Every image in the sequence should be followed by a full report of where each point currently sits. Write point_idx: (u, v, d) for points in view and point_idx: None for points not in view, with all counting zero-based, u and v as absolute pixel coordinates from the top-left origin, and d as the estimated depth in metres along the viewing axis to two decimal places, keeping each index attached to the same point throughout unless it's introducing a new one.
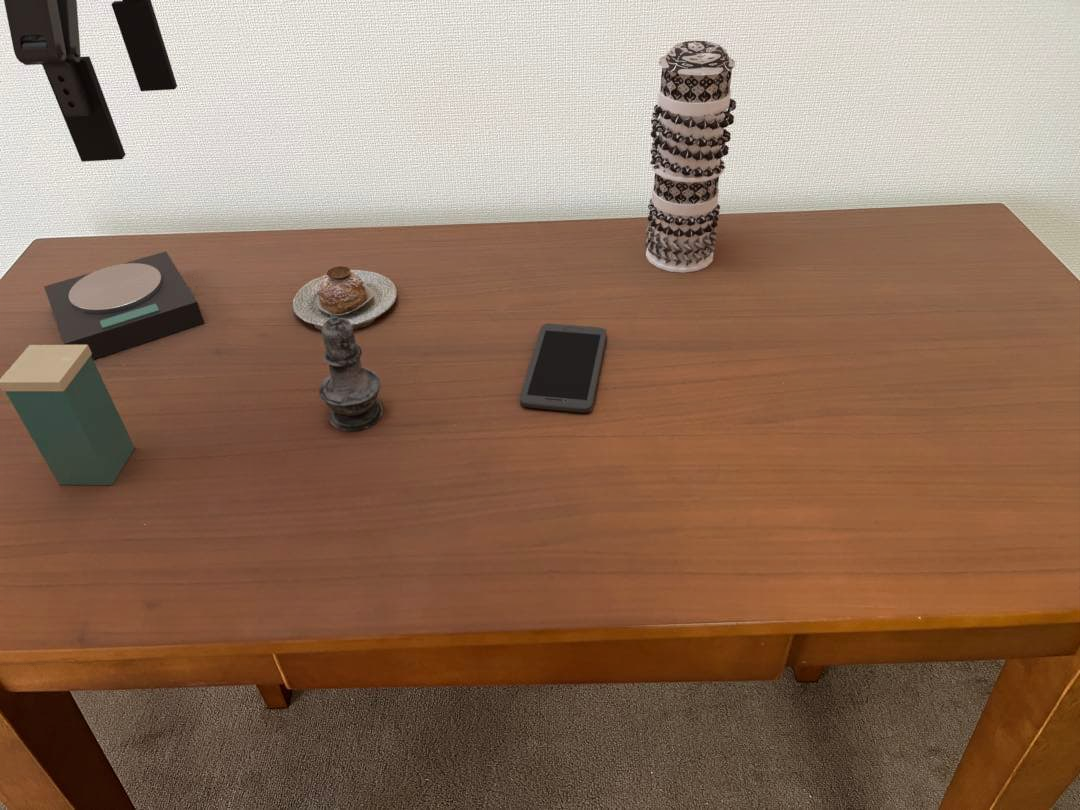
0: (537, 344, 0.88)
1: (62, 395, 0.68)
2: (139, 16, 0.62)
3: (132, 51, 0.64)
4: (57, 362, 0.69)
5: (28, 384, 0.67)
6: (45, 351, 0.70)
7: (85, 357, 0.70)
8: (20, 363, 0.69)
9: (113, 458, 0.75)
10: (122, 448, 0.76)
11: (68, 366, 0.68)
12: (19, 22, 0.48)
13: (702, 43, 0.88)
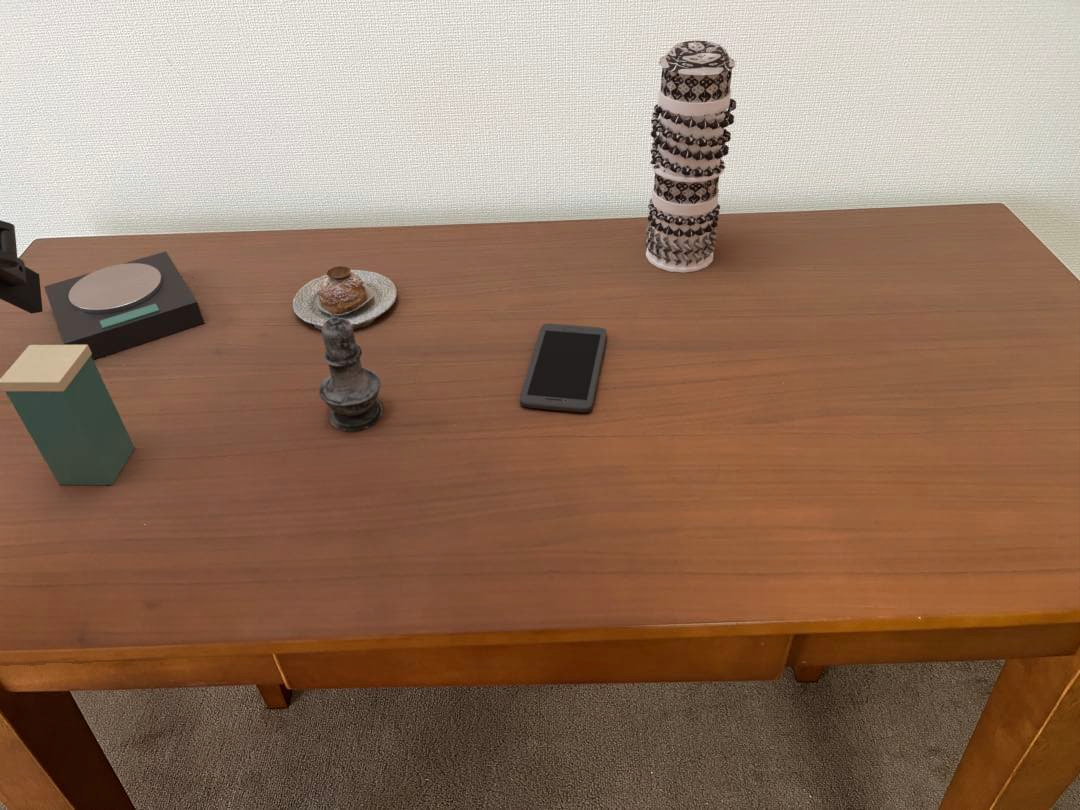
0: (537, 344, 0.88)
1: (62, 395, 0.68)
2: None
3: None
4: (57, 362, 0.69)
5: (28, 384, 0.67)
6: (45, 351, 0.70)
7: (85, 357, 0.70)
8: (20, 363, 0.69)
9: (113, 458, 0.75)
10: (122, 448, 0.76)
11: (68, 366, 0.68)
12: None
13: (702, 43, 0.88)
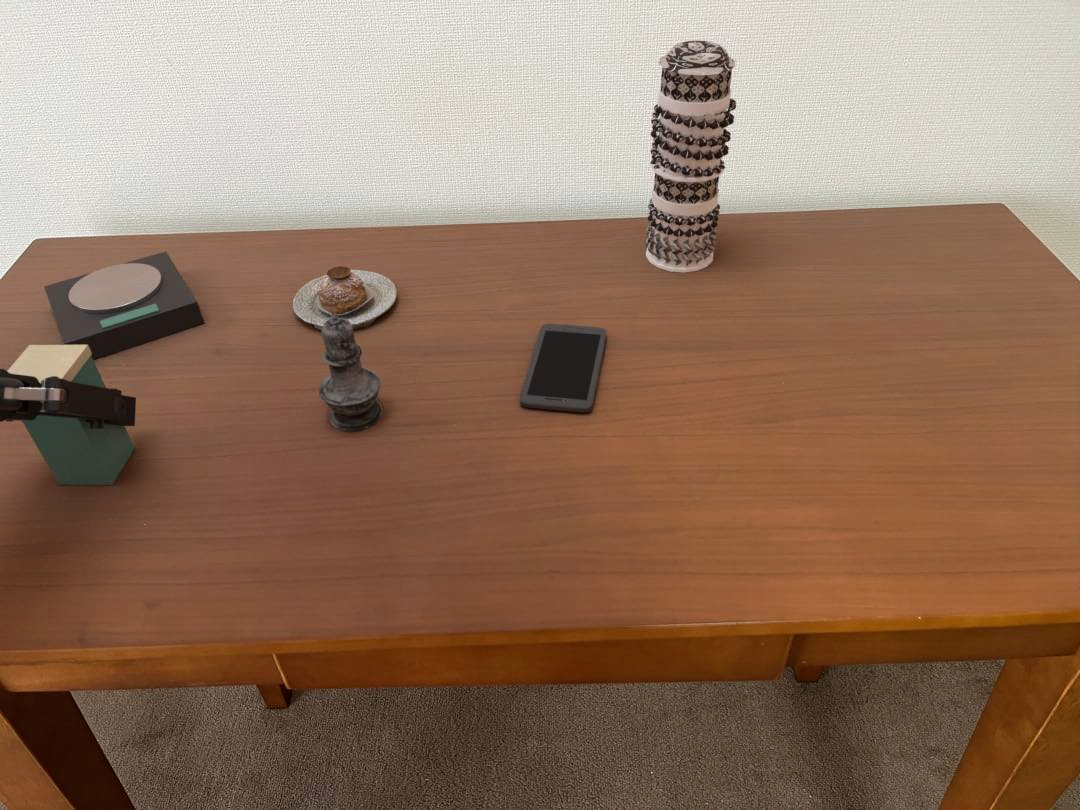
0: (537, 344, 0.88)
1: None
2: None
3: None
4: (57, 362, 0.69)
5: None
6: (45, 351, 0.70)
7: (85, 357, 0.70)
8: (20, 363, 0.69)
9: (113, 458, 0.75)
10: (122, 448, 0.76)
11: (68, 366, 0.68)
12: None
13: (702, 43, 0.88)
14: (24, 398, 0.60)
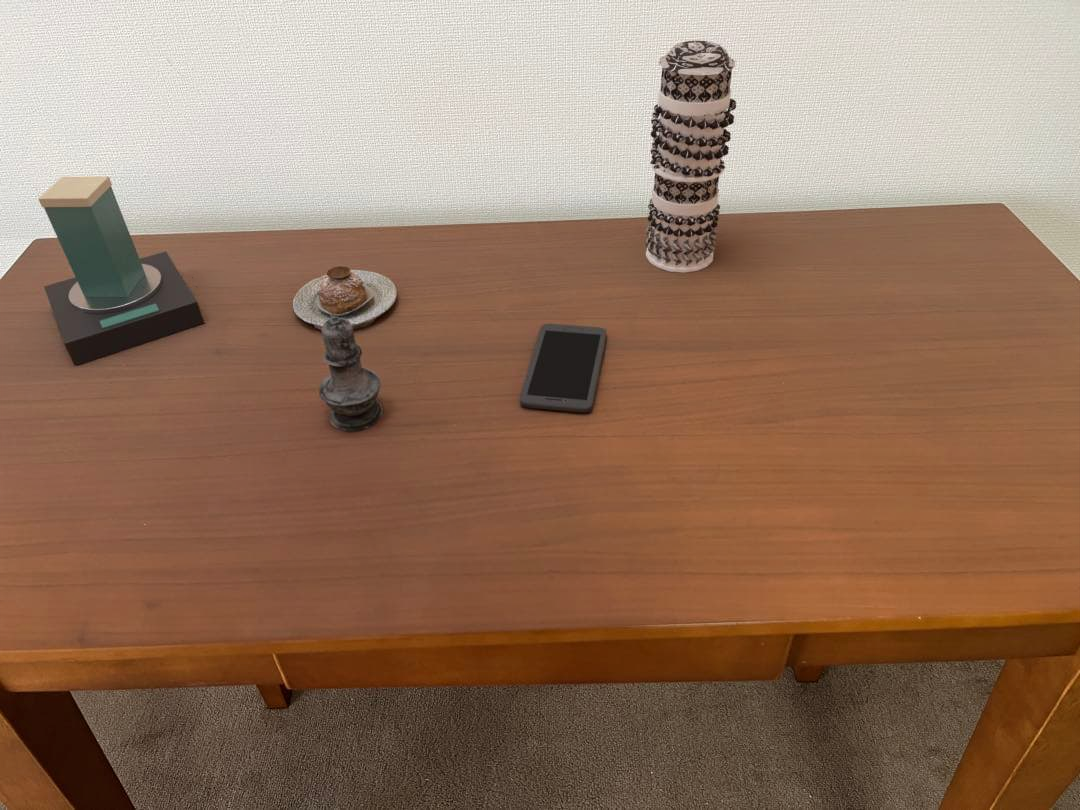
0: (537, 344, 0.88)
1: (89, 210, 0.85)
2: None
3: None
4: (85, 186, 0.86)
5: (62, 200, 0.85)
6: (75, 180, 0.88)
7: (106, 185, 0.88)
8: (55, 187, 0.86)
9: (128, 275, 0.92)
10: (135, 270, 0.94)
11: (94, 189, 0.86)
12: None
13: (702, 43, 0.88)
14: None
